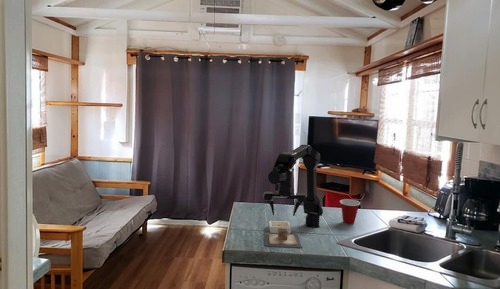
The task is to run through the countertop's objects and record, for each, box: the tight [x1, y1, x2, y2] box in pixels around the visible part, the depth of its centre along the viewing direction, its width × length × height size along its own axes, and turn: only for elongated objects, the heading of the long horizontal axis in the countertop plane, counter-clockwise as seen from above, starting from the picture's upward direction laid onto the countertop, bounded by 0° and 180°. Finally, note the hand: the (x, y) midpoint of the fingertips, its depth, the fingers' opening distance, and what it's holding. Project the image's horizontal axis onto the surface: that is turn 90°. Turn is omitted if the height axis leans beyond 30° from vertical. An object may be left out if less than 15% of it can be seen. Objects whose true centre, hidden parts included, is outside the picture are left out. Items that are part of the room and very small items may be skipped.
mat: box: [263, 232, 303, 249], centre depth 167 cm, size 16×16×1 cm
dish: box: [268, 220, 292, 235], centre depth 183 cm, size 10×10×3 cm
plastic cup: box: [339, 198, 361, 225], centre depth 201 cm, size 11×11×12 cm
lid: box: [268, 228, 297, 245], centre depth 167 cm, size 12×12×5 cm
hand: (283, 215), depth 166 cm, fingers open, 9 cm apart
